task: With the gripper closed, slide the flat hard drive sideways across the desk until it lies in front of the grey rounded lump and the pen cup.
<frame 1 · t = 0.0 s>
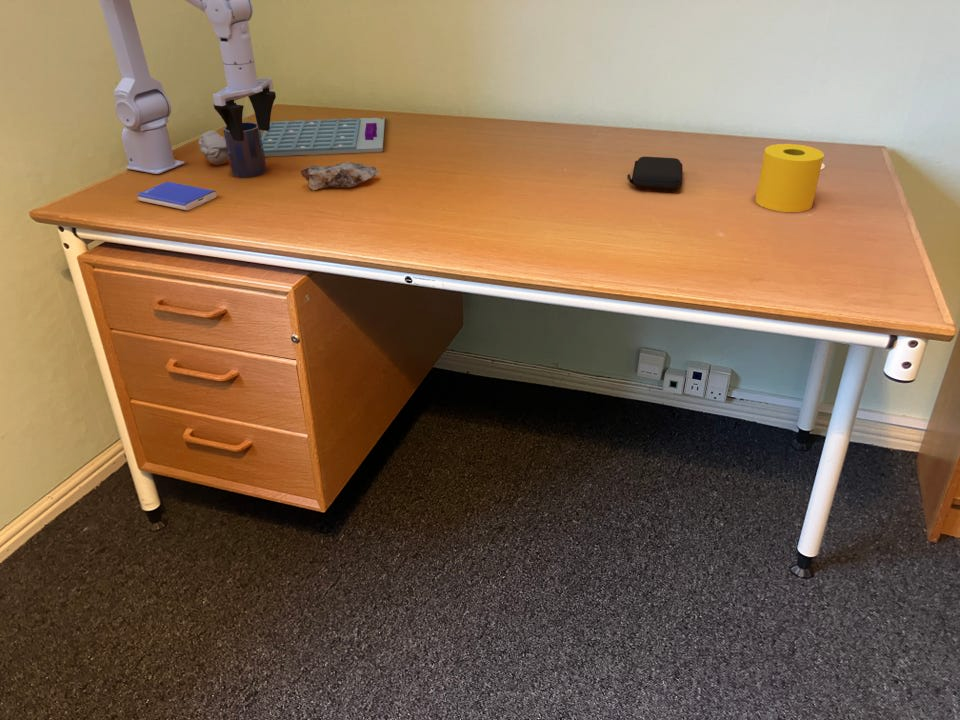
hand: (251, 135, 147), 10 cm above the table, tool pointing down, fingers open, 7 cm apart
grey rounded lump: (218, 164, 165), on the table
carrying case: (654, 181, 151), on the table
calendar: (324, 137, 181), on the table
mineral rock: (341, 185, 152), on the table
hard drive: (178, 200, 146), on the table
yellow toilet paper roll: (783, 203, 141), on the table
pen cup: (249, 172, 160), on the table
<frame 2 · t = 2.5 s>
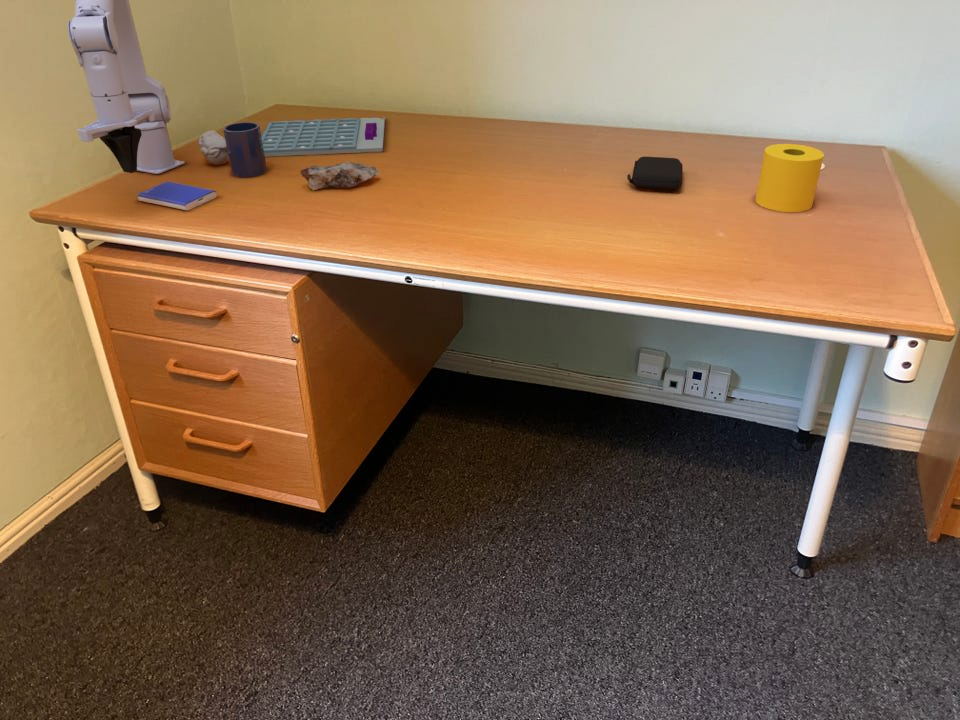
hand: (130, 171, 135), 8 cm above the table, tool pointing down, fingers closed
nothing on the table moved.
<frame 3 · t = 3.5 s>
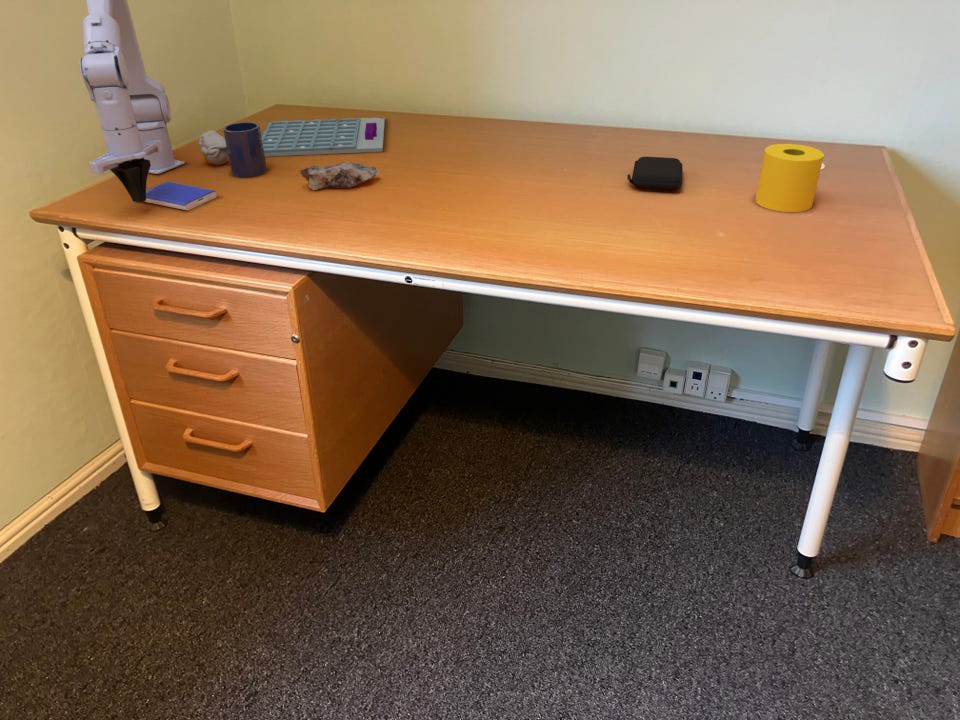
hand: (139, 200, 138), 3 cm above the table, tool pointing down, fingers closed
nothing on the table moved.
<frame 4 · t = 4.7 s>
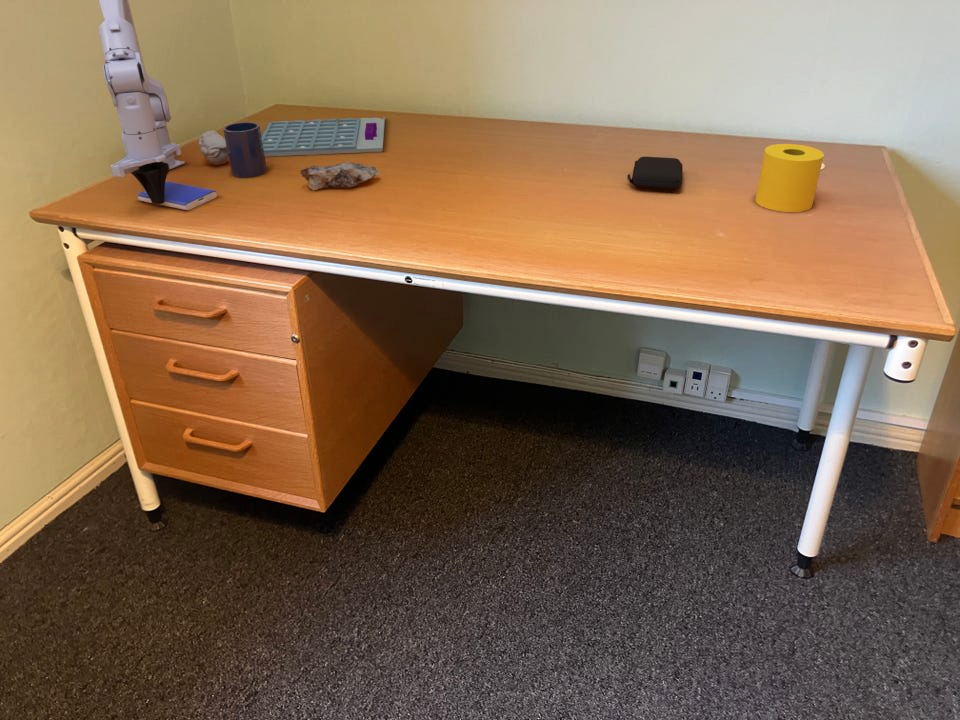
hand: (158, 202, 142), 1 cm above the table, tool pointing down, fingers closed
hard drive: (178, 200, 146), on the table, touching gripper
everything else where it was.
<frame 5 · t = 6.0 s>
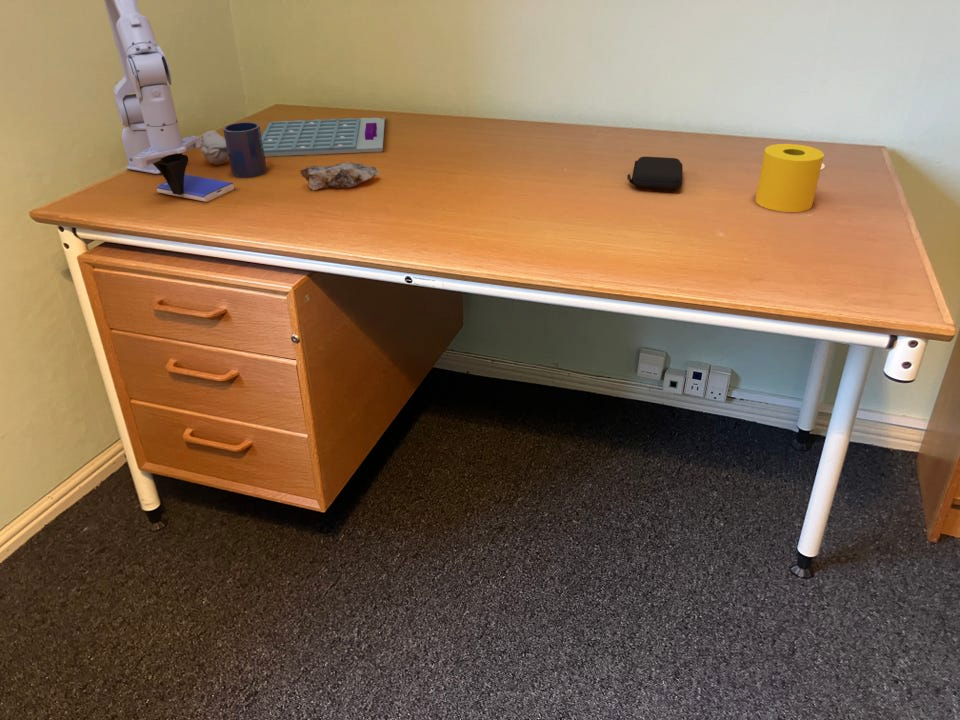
hand: (178, 193, 146), 1 cm above the table, tool pointing down, fingers closed
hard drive: (196, 192, 150), on the table, touching gripper
everything else where it was.
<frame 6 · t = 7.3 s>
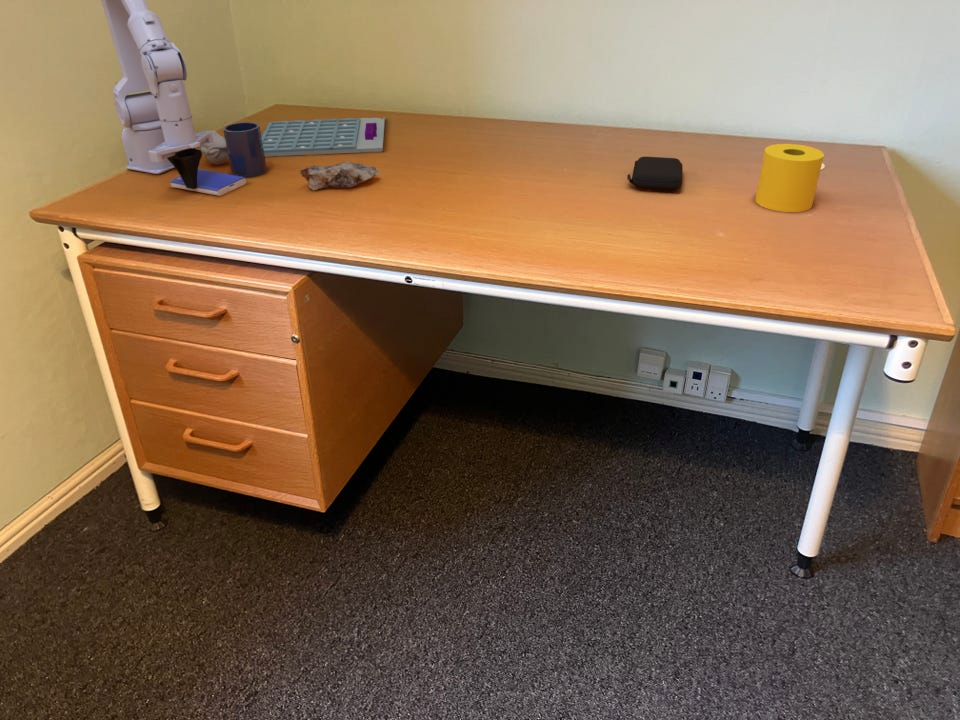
hand: (191, 187, 149), 1 cm above the table, tool pointing down, fingers closed
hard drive: (209, 186, 153), on the table, touching gripper
everything else where it was.
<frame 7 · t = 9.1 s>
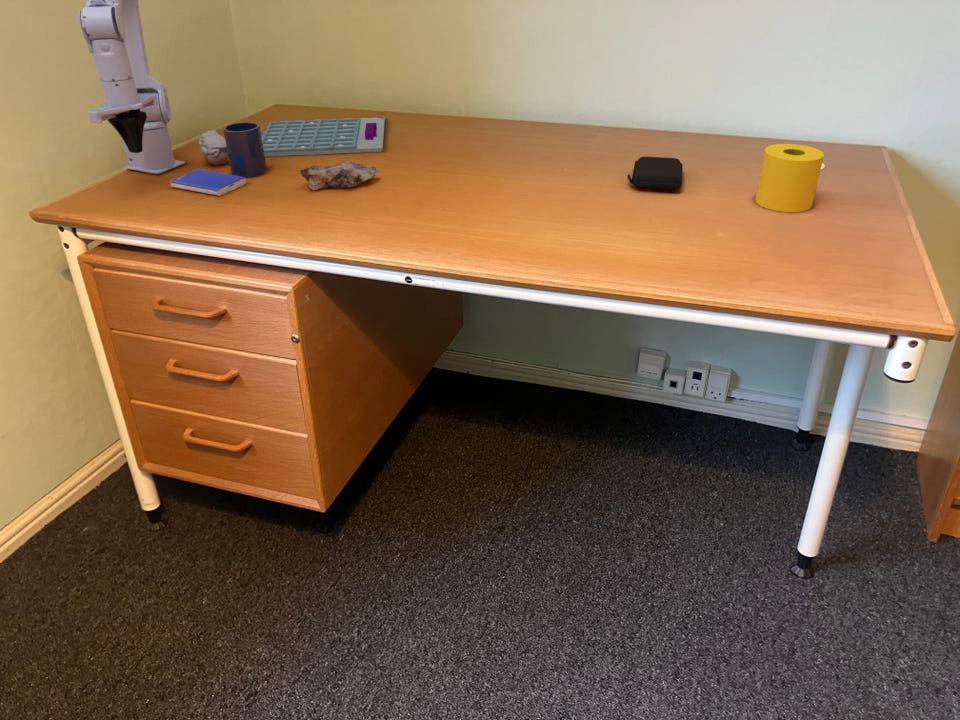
hand: (136, 151, 145), 8 cm above the table, tool pointing down, fingers closed
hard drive: (209, 186, 153), on the table
everything else where it was.
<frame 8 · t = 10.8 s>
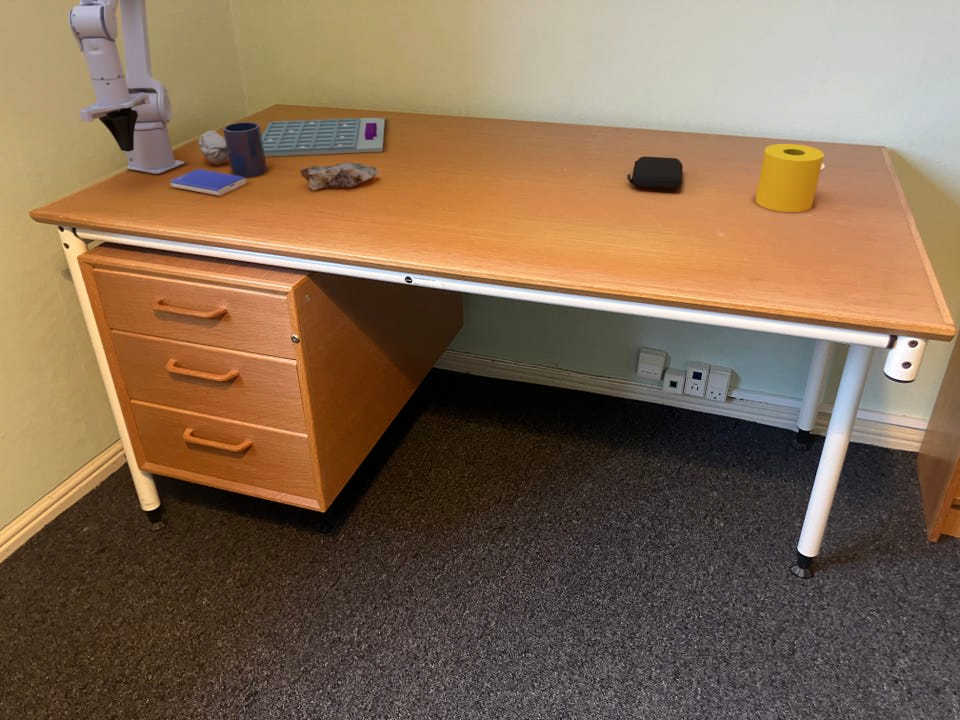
hand: (127, 150, 146), 8 cm above the table, tool pointing down, fingers closed
nothing on the table moved.
at the end: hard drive 0.5 cm from the target spot, on the table; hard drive moved 8.5 cm from its start; grey rounded lump moved 0.2 cm from its start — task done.
